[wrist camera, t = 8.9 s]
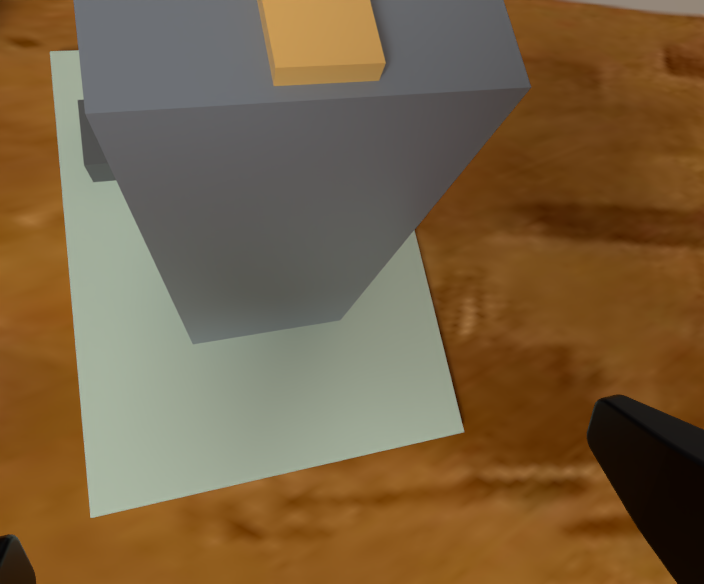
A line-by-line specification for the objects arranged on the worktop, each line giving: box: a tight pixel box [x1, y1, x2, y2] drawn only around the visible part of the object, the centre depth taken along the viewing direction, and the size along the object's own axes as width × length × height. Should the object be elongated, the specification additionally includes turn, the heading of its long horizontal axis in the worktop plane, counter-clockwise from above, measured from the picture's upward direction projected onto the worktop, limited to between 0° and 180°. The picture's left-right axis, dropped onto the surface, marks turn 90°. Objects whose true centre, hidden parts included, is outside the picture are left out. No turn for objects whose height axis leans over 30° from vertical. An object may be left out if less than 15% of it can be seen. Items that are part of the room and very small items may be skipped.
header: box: [50, 50, 464, 518], centre depth 16 cm, size 16×12×6 cm
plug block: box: [74, 0, 531, 344], centre depth 12 cm, size 5×5×13 cm
